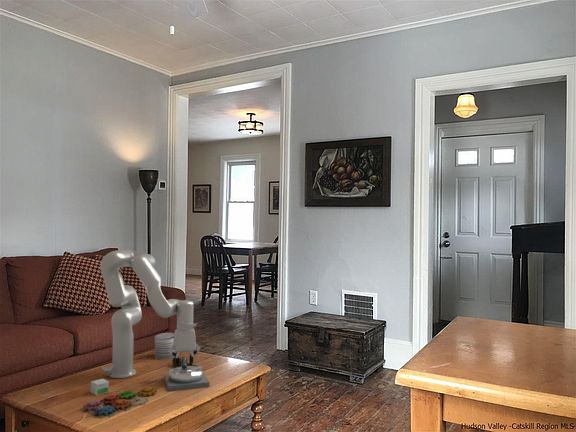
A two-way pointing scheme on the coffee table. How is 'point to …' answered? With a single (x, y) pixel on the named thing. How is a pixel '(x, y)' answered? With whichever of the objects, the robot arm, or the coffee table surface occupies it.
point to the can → (164, 345)
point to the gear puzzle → (118, 402)
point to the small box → (99, 386)
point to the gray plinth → (181, 386)
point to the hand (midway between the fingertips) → (184, 364)
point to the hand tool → (180, 363)
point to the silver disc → (186, 373)
